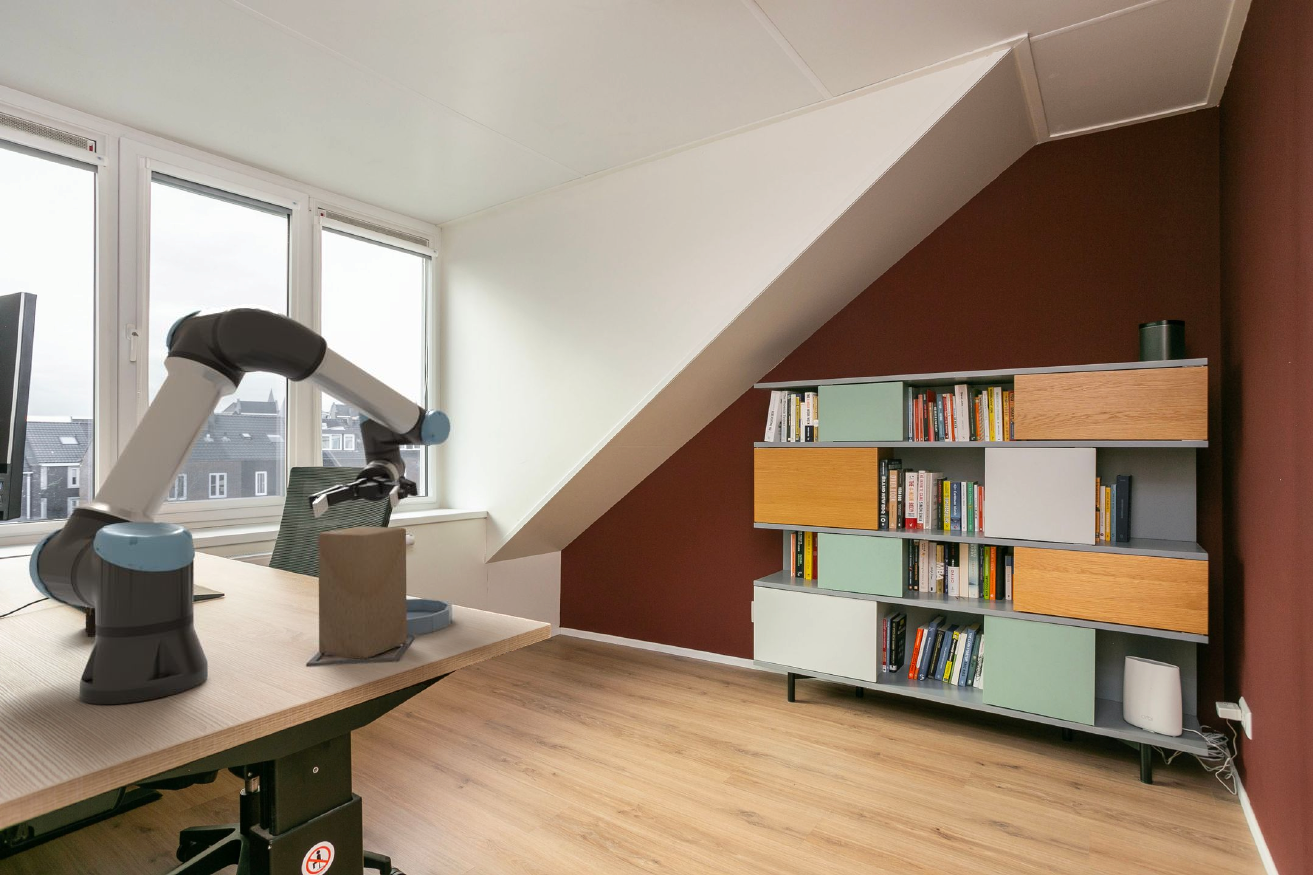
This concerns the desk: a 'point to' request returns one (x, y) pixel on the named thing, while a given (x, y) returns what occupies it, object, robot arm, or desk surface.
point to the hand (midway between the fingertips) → (354, 505)
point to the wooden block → (362, 591)
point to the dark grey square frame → (397, 657)
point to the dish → (427, 615)
